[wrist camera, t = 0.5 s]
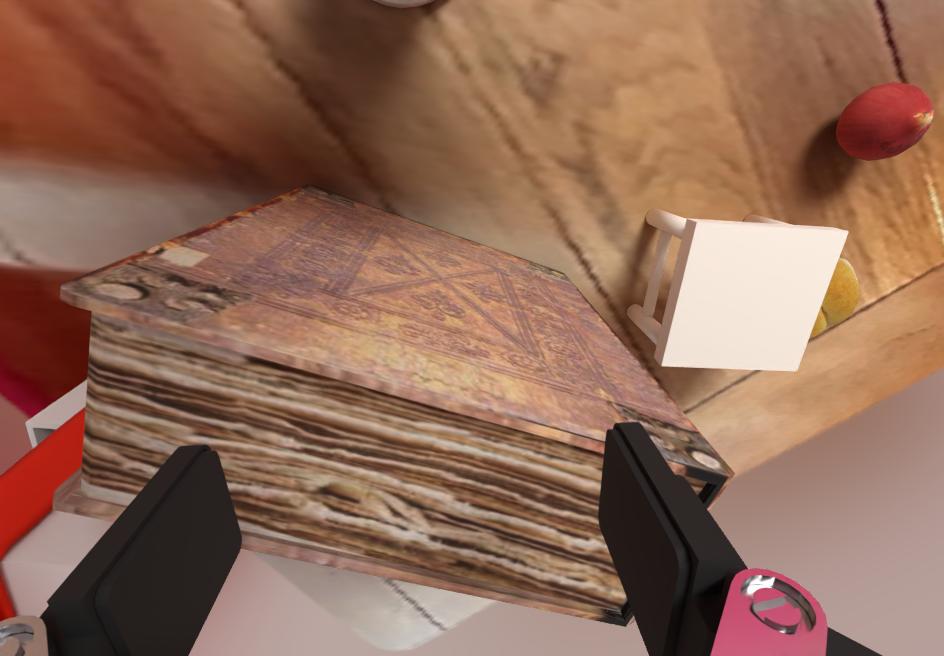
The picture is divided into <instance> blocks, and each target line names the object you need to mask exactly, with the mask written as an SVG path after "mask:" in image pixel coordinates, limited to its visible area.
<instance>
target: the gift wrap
mask: <svg viewBox="0 0 944 656" xmlns="http://www.w3.org/2000/svg"><path fill="white" fill-rule="evenodd" d="M86 392H87V380H86V381H84V382H83V383H81V384H80V385H79V386H77V387H76V388H74V389H73V390H71V391H70V392H68V393H67V394H66V395H64V396H63V397H61V398H60V399H58V400H57V401H55V402H54V403H53V404H51V405H50V406H48V407H47V408H45V409H44V410H42V411H41V412H40V413H38V414H37V415H35V416H34V417H32V418H31V419H29V420H28V421H27V422H26V427H27V430H28V434H29V438H30V441H31V445H32V450H31V451H30V452H28V453H27V454H26V455H25V456H24V457H22V458H21V459H20V460H19V461H18V462H16V463H15V464H14V465H13V466H12V467H11V468H9V469H8V470H7V471H6V472H5V473H4V474H2V475H1V476H0V622H1V621H3V620H6V619H9V618H13V617H17V616H22V615H30V616H36V617H38V618H39V617H40V616H41V614H42V613H43V612H44V611H45V610H46V608H47V607H48V606H49V605H48V603H47V601H48V599H49V598H50V597H51V596H52V595H53V593H54V592H55V591H56V590H57V589H58V588H59V586H60V585H61V584H62V583H63V582H64V581H65V579H66V578H67V577H68V576H69V575H70V573H71V572H72V571H73V570H74V569H75V568H76V566H77V565H78V564H79V563H80V562H81V561H82V559H83V558H84V557H85V556H86V555H87V553H88V552H89V551H90V550H91V549H92V548H93V546H94V545H95V544H96V543H97V542H98V541H99V539H100V538H101V537H102V536H103V535H104V533H105V532H106V531H107V530H108V529H109V528H110V526H111V525H112V524H113V523H114V522H110V521H105V520H100V519H95V518H90V517H85V516H81V515H76V514H71V513H66V512H61V511H57V510H53V496H54V491H55V490H56V489H57V488H58V487H59V486H60V485H61V484H62V483H63V482H64V481H65V480H67V479H68V478H69V477H70V476H71V475H72V474H73V473H74V472H75V471H76V470H77V469H79V468H80V467H81V466H82V455H83V439H84V423H85V408H86Z"/></svg>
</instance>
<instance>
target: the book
mask: <svg viewBox="0 0 944 656" xmlns="http://www.w3.org/2000/svg"><path fill="white" fill-rule="evenodd" d="M60 300H62V301H64V302H66V303H68V304H70V305H72V306H75V307H79V308H82V309H86V310H90V311H92V314H91V330H90V345H89V361H88V376H87V392H86V408H85V423H84V439H83V455H82V466H81V467H80V468H79V469H77V470H76V471H75V472H74V473H73V474H72V475H71V476H70V477H69V478H68V479H67V480H65V481H64V482H63V483H62V484H61V485H60V486H59V487H58V488H57V489H56V490H55V491H54V496H53V510H57V511H61V512H66V513H71V514H76V515H81V516H85V517H90V518H95V519H100V520H105V521H110V522H115V521H116V519H117V518H118V517H119V516H120V515H121V514H122V512H123V511H124V510H125V509H126V508H127V506H128V505H129V504H130V503H131V502H132V501H133V499H134V498H135V497H136V496H137V495H138V494H139V492H140V491H141V490H142V489H143V488H144V486H145V485H146V484H147V483H148V482H149V481H150V479H151V478H152V477H153V476H154V475H155V474H156V472H157V471H158V470H159V469H160V468H161V466H162V465H163V464H164V463H165V462H166V461H167V459H168V458H169V457H170V456H171V455H172V454H173V452H174V451H175V450H176V449H177V448H178V447H180V446H187V445H208V446H209V447H210V448H211V450H215V451H217V453H218V455H219V458H220V461H221V465H222V468H223V472H224V475H225V478H226V482H227V485H228V489H229V492H230V496H231V499H232V503H233V506H234V510H235V513H236V517H237V520H238V524H239V527H240V530H241V534H242V545H241V548H242V549H247V550H252V551H257V552H262V553H267V554H272V555H277V556H281V557H286V558H291V559H296V560H301V561H306V562H311V563H316V564H321V565H326V566H331V567H335V568H340V569H345V570H350V571H355V572H360V573H365V574H370V575H375V576H380V577H384V578H389V579H394V580H399V581H404V582H409V583H414V584H419V585H424V586H429V587H433V588H438V589H443V590H448V591H453V592H458V593H463V594H468V595H473V596H478V597H482V598H487V599H492V600H497V601H502V602H507V603H512V604H517V605H522V606H527V607H532V608H537V609H541V610H546V611H551V612H556V613H561V614H566V615H571V616H576V617H581V618H586V619H590V620H595V621H600V622H605V623H610V624H615V625H620V626H625V627H626V626H628V625H630V624H631V623H633V622H634V621H635V617H634V615H633V612H632V610H631V607H630V605H629V602H628V599H627V597H626V594H625V592H624V589H623V586H622V584H621V581H620V579H619V576H618V574H617V571H616V568H615V566H614V563H613V561H612V558H611V555H610V553H609V550H608V548H607V545H606V542H605V540H604V537H603V535H602V532H601V529H600V526H599V520H598V509H599V499H600V489H601V479H602V468H603V458H604V448H605V438H606V431H607V430H608V429H613V426H614V424H615V423H621V422H640V423H641V424H642V426H643V427H644V429H645V430H646V432H647V433H648V435H649V436H650V438H651V439H652V441H653V442H654V444H655V445H656V447H657V448H658V450H659V451H660V453H661V454H662V456H663V457H664V459H665V460H666V462H667V463H668V465H669V466H670V468H671V469H672V471H673V472H674V474H675V475H681V476H683V477H684V478H685V479H686V480H687V481H688V482H689V484H690V485H691V487H692V488H693V490H694V491H695V492H696V494H697V495H698V497H699V498H700V500H701V501H702V503H703V504H704V506H705V507H706V508H707V510H708V511H710V509H711V508H712V506H713V505H714V503H715V502H716V500H717V499H718V497H719V496H720V495H721V493H722V492H723V490H724V489H725V487H726V486H727V484H728V483H729V481H730V480H731V478H732V477H733V475H734V474H735V473H734V472H733V471H732V469H731V468H730V467H729V466H728V465H727V464H726V462H725V461H724V460H723V459H722V458H721V457H720V455H719V454H718V453H717V452H716V451H715V450H714V448H713V447H712V446H711V445H710V444H709V443H708V441H707V440H706V439H705V438H704V437H703V435H702V434H701V433H700V432H699V431H698V430H697V428H696V427H695V426H694V425H693V424H692V423H691V421H690V420H689V419H688V418H687V417H686V416H685V414H684V413H683V412H682V411H681V410H680V408H679V407H678V406H677V405H676V404H675V403H674V401H673V400H672V399H671V398H670V397H669V396H668V394H667V393H666V392H665V391H664V390H663V389H662V387H661V386H660V385H659V384H658V383H657V382H656V380H655V379H654V378H653V377H652V376H651V374H650V373H649V372H648V371H647V370H646V369H645V367H644V366H643V365H642V364H641V363H640V362H639V360H638V359H637V358H636V357H635V356H634V355H633V353H632V352H631V351H630V350H629V349H628V347H627V346H626V345H625V344H624V343H623V342H622V340H621V339H620V338H619V337H618V336H617V335H616V333H615V332H614V331H613V330H612V329H611V328H610V326H609V325H608V324H607V323H606V322H605V321H604V319H603V318H602V317H601V316H600V315H599V313H598V312H597V311H596V310H595V309H594V308H593V306H592V305H591V304H590V303H589V302H588V301H587V299H586V298H585V297H584V296H583V295H582V294H581V292H580V291H579V290H578V289H577V288H576V286H575V285H574V284H573V283H572V282H571V281H570V279H569V278H568V277H567V276H566V275H565V274H564V273H562V272H559V271H557V270H554V269H551V268H548V267H545V266H542V265H539V264H536V263H534V262H531V261H528V260H525V259H522V258H519V257H516V256H513V255H510V254H508V253H505V252H502V251H499V250H496V249H493V248H490V247H487V246H485V245H482V244H479V243H476V242H473V241H470V240H467V239H464V238H462V237H459V236H456V235H453V234H450V233H447V232H444V231H441V230H438V229H436V228H433V227H430V226H427V225H424V224H421V223H418V222H415V221H413V220H410V219H407V218H404V217H401V216H398V215H395V214H392V213H389V212H387V211H384V210H381V209H378V208H375V207H372V206H369V205H366V204H364V203H361V202H358V201H355V200H352V199H349V198H346V197H343V196H341V195H338V194H335V193H332V192H329V191H326V190H323V189H320V188H317V187H315V186H312V185H305V186H303V187H300V188H298V189H295V190H293V191H290V192H288V193H285V194H283V195H281V196H278V197H276V198H273V199H271V200H268V201H266V202H263V203H261V204H258V205H256V206H253V207H251V208H248V209H246V210H243V211H241V212H238V213H236V214H234V215H231V216H229V217H226V218H224V219H221V220H219V221H216V222H214V223H211V224H209V225H206V226H204V227H201V228H199V229H196V230H194V231H191V232H189V233H186V234H184V235H182V236H179V237H177V238H174V239H172V240H169V241H167V242H164V243H162V244H159V245H157V246H154V247H152V248H149V249H147V250H144V251H142V252H139V253H137V254H135V255H132V256H130V257H127V258H125V259H122V260H120V261H117V262H115V263H112V264H110V265H107V266H105V267H102V268H100V269H97V270H95V271H92V272H90V273H87V274H85V275H83V276H80V277H78V278H75V279H73V280H70V281H68V282H65V283H63V284H61V288H60Z"/></svg>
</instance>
